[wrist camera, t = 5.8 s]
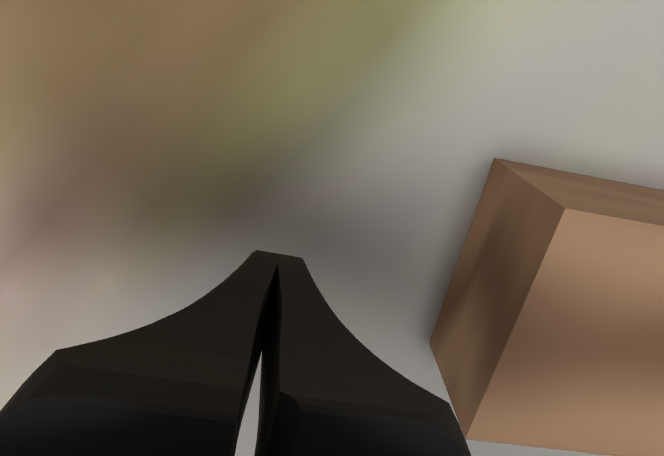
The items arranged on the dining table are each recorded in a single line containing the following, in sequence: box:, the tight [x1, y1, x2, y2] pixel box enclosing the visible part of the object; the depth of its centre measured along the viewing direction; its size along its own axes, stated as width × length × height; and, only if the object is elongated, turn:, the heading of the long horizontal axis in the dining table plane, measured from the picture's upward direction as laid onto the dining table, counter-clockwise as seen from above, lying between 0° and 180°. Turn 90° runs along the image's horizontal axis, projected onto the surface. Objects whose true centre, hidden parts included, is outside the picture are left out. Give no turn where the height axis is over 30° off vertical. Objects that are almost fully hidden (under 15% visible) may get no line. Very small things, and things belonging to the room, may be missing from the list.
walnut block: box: [430, 158, 664, 456], centre depth 15 cm, size 8×10×5 cm
